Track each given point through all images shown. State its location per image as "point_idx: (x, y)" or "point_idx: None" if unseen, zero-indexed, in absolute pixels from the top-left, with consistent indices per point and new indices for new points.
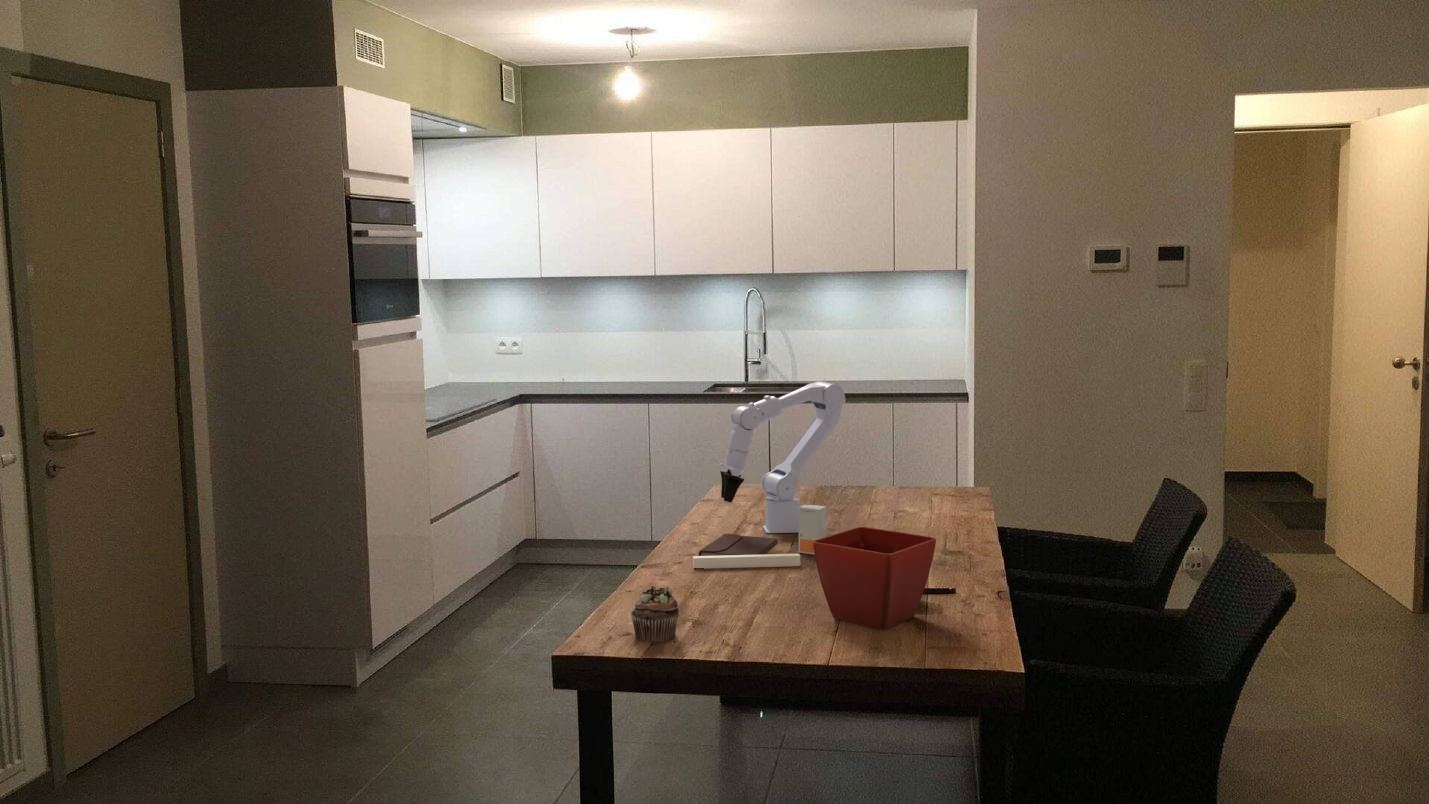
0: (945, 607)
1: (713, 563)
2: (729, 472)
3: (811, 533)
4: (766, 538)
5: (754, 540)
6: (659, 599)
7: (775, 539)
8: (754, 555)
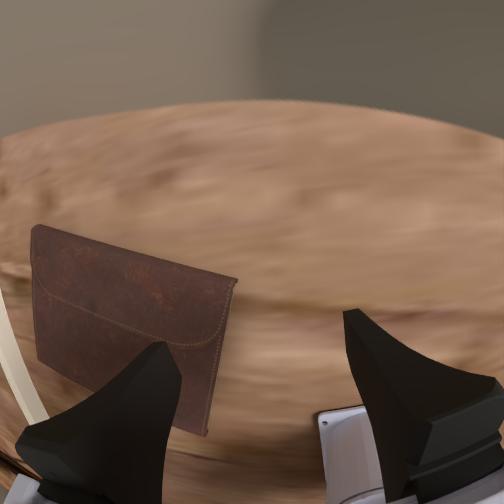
0: (8, 477)
1: None
2: (412, 486)
3: None
4: (195, 414)
5: None
6: None
7: (193, 433)
8: (2, 357)
